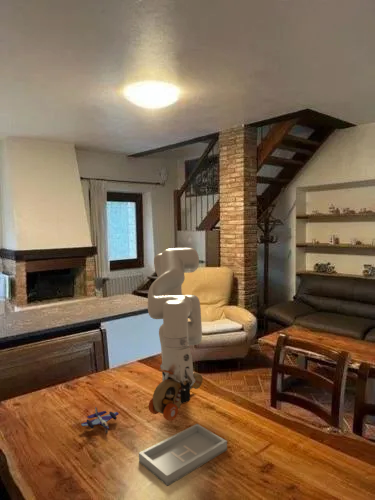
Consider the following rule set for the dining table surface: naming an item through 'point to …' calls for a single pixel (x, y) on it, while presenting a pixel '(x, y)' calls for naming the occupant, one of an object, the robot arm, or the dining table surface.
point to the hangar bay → (182, 453)
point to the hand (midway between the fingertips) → (177, 396)
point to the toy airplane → (100, 419)
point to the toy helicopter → (170, 396)
